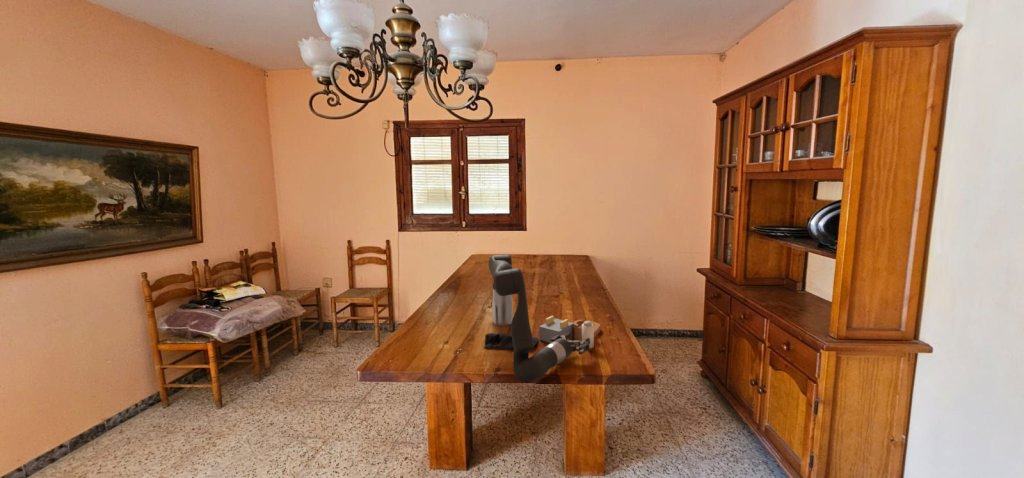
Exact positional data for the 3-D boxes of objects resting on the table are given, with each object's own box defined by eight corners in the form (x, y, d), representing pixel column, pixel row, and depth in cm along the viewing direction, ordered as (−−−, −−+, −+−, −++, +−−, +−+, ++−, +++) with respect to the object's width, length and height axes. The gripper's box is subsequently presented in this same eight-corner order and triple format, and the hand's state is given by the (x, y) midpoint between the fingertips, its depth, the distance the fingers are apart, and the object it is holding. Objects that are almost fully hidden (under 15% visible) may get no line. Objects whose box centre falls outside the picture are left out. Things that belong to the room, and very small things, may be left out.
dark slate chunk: (532, 354, 157) (532, 343, 156) (480, 349, 163) (480, 338, 162) (540, 339, 171) (540, 329, 171) (492, 335, 178) (492, 325, 177)
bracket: (589, 343, 165) (589, 328, 164) (570, 340, 169) (570, 324, 168) (602, 329, 180) (602, 314, 179) (584, 326, 184) (584, 311, 183)
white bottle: (585, 349, 159) (585, 325, 158) (579, 344, 164) (579, 321, 162) (595, 347, 160) (595, 323, 159) (590, 343, 165) (590, 319, 163)
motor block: (559, 345, 163) (559, 325, 162) (539, 339, 170) (539, 320, 168) (577, 334, 175) (577, 315, 173) (558, 329, 181) (558, 311, 180)
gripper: (573, 347, 139) (595, 332, 151) (540, 337, 148) (563, 324, 160) (573, 367, 140) (595, 351, 152) (540, 356, 149) (564, 342, 161)
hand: (579, 337), depth 156 cm, fingers open, 8 cm apart
